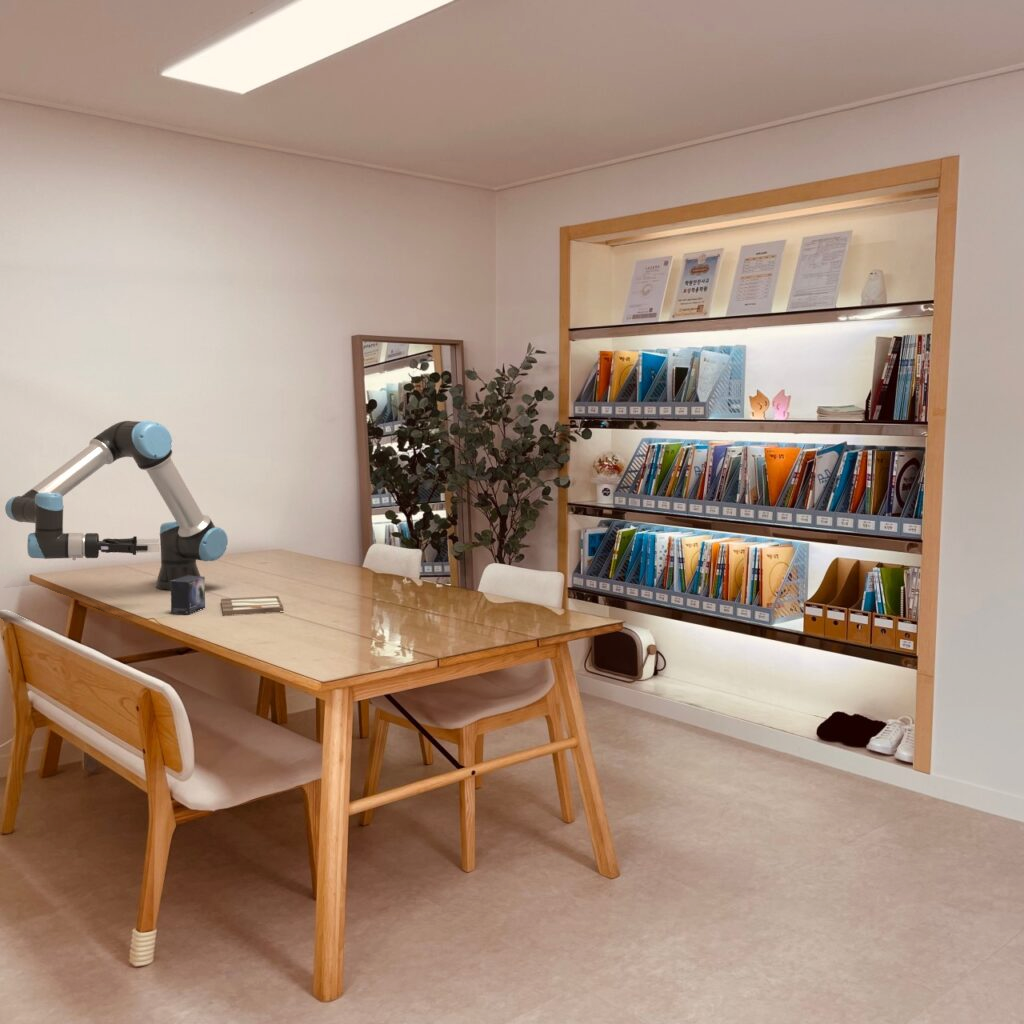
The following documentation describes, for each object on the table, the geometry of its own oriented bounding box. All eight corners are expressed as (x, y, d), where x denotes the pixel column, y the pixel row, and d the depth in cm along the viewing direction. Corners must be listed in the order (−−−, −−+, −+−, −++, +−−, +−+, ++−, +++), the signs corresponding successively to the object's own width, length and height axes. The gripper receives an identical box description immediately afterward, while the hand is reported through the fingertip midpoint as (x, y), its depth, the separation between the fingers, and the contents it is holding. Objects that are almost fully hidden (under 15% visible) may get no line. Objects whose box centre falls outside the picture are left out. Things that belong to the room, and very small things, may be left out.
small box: (189, 615, 319) (188, 581, 318) (170, 614, 321) (169, 580, 320) (206, 608, 330) (205, 575, 329) (187, 607, 331) (186, 574, 330)
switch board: (221, 603, 338) (220, 597, 337) (278, 600, 343) (278, 594, 343) (223, 615, 319) (223, 609, 318) (283, 612, 324) (283, 606, 324)
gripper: (86, 553, 326) (158, 552, 333) (82, 563, 303) (159, 562, 310) (86, 529, 325) (158, 529, 333) (82, 537, 302) (159, 537, 309)
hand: (159, 545), depth 321 cm, fingers open, 13 cm apart
